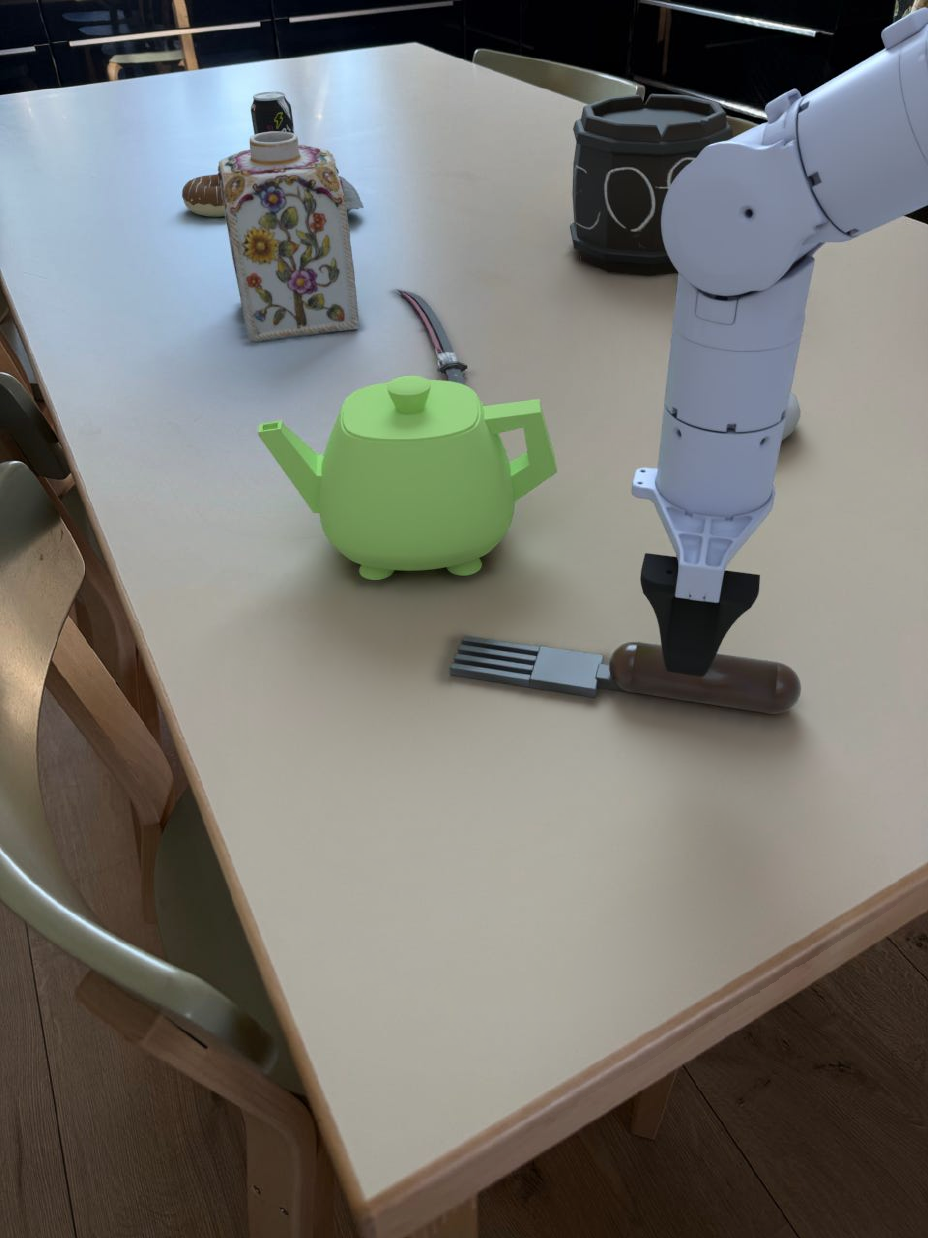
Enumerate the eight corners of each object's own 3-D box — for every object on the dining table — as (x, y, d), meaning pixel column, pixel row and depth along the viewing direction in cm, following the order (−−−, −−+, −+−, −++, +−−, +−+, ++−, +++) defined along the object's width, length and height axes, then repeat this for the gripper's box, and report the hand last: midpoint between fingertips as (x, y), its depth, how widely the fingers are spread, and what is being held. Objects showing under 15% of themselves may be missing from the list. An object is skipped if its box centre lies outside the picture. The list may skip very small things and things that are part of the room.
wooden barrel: (676, 291, 108) (692, 136, 98) (540, 261, 117) (543, 116, 107) (746, 244, 119) (767, 101, 109) (617, 220, 128) (626, 85, 118)
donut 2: (169, 215, 136) (162, 184, 134) (219, 194, 143) (214, 165, 141) (228, 224, 132) (223, 193, 129) (277, 203, 139) (273, 173, 137)
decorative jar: (240, 303, 110) (208, 127, 98) (343, 291, 112) (324, 117, 100) (248, 345, 101) (215, 156, 89) (361, 331, 103) (342, 144, 91)
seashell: (296, 206, 137) (291, 168, 134) (354, 200, 139) (351, 162, 136) (305, 233, 128) (300, 192, 125) (368, 226, 130) (365, 186, 126)
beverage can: (307, 179, 148) (296, 90, 140) (288, 190, 144) (275, 99, 136) (274, 176, 150) (262, 89, 142) (254, 187, 146) (240, 97, 138)
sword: (486, 405, 88) (486, 392, 87) (453, 409, 87) (452, 396, 87) (423, 294, 112) (422, 283, 111) (396, 297, 111) (395, 286, 111)
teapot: (270, 605, 67) (238, 439, 59) (290, 500, 77) (264, 347, 69) (565, 591, 67) (572, 423, 59) (544, 488, 77) (548, 334, 69)
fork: (796, 692, 58) (805, 654, 57) (795, 730, 56) (805, 691, 54) (463, 642, 63) (461, 605, 61) (449, 675, 61) (447, 637, 59)
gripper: (657, 337, 53) (637, 544, 62) (619, 472, 42) (601, 701, 51) (793, 348, 52) (753, 559, 60) (789, 491, 41) (741, 723, 49)
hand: (692, 625), depth 55 cm, fingers open, 7 cm apart
